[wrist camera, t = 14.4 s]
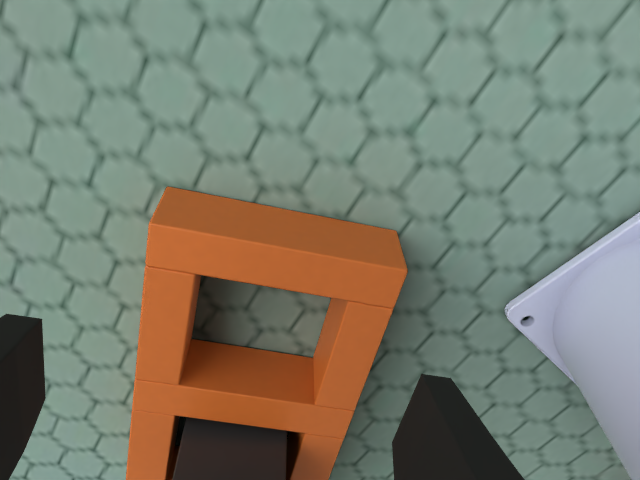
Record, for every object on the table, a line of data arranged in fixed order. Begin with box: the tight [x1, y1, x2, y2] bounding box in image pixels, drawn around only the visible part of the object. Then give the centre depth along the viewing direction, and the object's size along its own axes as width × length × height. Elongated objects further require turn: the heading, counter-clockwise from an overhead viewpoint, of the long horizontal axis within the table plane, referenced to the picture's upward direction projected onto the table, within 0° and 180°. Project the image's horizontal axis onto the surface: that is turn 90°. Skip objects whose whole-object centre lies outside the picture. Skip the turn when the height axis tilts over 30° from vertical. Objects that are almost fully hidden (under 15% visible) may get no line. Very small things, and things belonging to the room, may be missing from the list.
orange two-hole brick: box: [126, 187, 408, 480], centre depth 22 cm, size 15×8×3 cm, turn 167°
